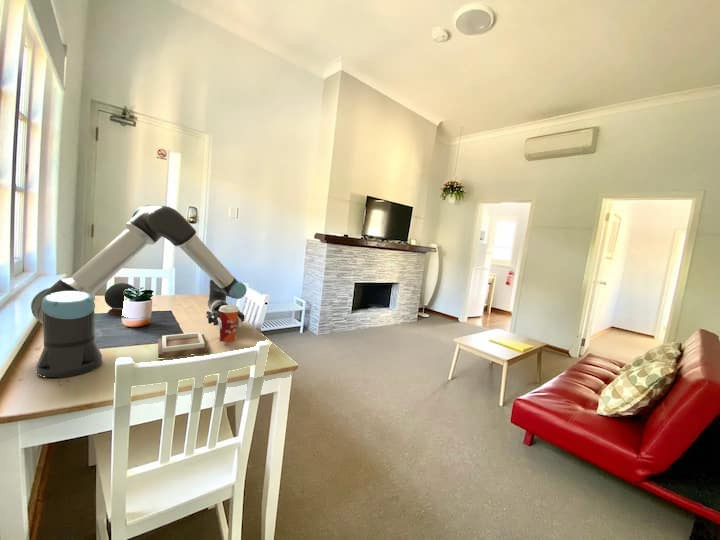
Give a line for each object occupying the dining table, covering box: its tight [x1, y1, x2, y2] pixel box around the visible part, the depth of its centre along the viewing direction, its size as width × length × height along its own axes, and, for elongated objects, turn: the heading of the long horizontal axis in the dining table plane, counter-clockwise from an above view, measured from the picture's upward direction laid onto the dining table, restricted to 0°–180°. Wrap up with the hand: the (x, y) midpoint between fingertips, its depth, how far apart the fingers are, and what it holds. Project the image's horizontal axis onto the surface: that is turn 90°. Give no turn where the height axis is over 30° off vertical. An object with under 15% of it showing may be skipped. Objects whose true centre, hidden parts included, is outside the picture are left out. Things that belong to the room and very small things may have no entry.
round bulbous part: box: [104, 282, 136, 317], centre depth 152 cm, size 13×13×15 cm
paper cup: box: [219, 304, 240, 343], centre depth 126 cm, size 8×8×14 cm
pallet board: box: [157, 331, 210, 359], centre depth 118 cm, size 16×16×4 cm
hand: (230, 324), depth 122 cm, fingers closed on paper cup, 7 cm apart
